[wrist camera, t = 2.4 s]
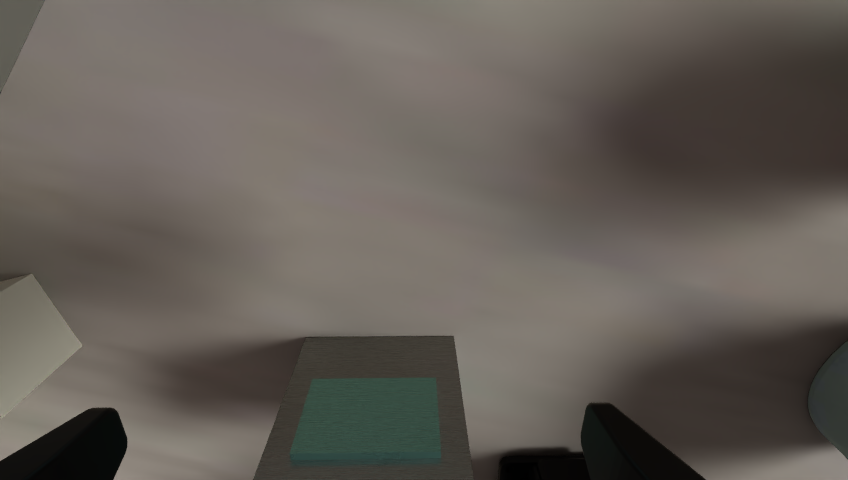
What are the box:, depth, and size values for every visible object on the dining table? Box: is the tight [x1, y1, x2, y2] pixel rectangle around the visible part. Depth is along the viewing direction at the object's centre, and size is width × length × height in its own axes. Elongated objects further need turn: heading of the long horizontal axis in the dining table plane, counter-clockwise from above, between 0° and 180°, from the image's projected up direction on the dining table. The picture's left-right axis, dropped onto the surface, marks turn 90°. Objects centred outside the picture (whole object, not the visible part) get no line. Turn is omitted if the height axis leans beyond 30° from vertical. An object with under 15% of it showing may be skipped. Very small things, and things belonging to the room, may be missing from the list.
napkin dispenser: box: [253, 336, 474, 480], centre depth 18 cm, size 4×7×8 cm, turn 90°
